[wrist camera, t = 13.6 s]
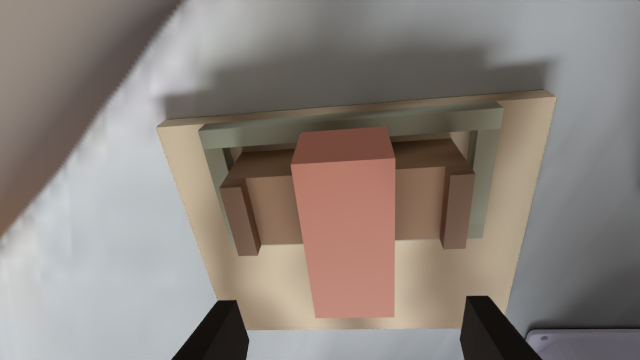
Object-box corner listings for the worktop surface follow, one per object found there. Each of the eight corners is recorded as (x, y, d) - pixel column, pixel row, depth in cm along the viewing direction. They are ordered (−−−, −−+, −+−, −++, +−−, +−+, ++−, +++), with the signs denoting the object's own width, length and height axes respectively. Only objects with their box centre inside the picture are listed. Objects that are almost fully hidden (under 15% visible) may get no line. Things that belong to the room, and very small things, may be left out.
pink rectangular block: (386, 126, 14) (395, 158, 12) (387, 269, 18) (394, 317, 15) (300, 132, 14) (290, 164, 12) (319, 271, 18) (315, 318, 16)
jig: (544, 89, 17) (569, 102, 15) (495, 313, 25) (507, 340, 23) (165, 119, 19) (145, 134, 17) (232, 317, 27) (224, 341, 25)
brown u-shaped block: (451, 138, 17) (475, 173, 14) (445, 203, 19) (465, 248, 16) (241, 152, 19) (218, 188, 15) (256, 212, 20) (238, 256, 17)
